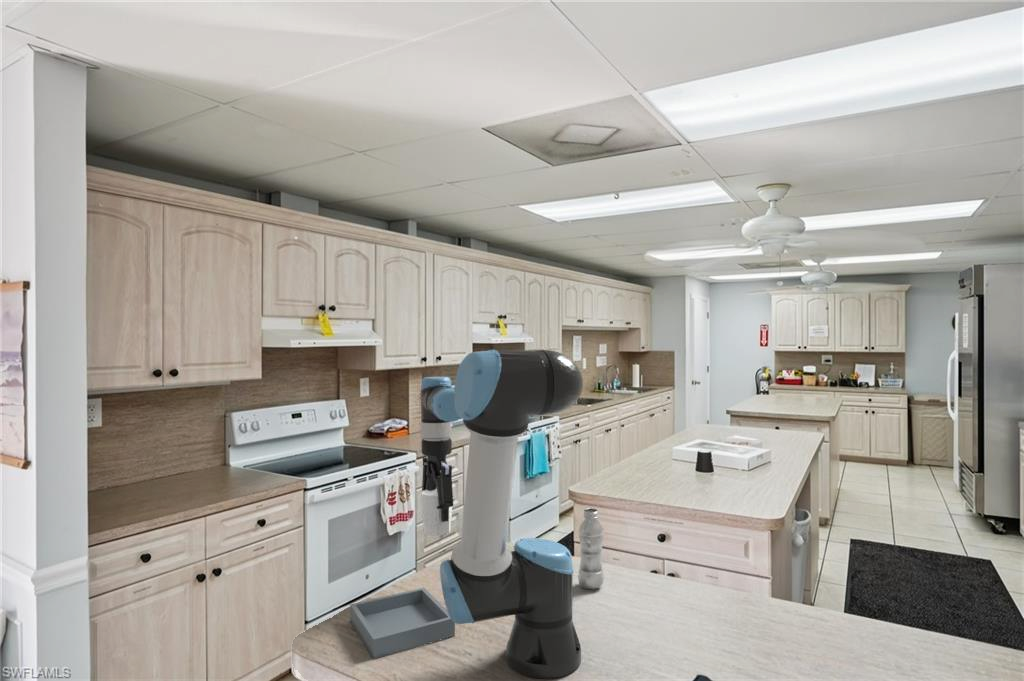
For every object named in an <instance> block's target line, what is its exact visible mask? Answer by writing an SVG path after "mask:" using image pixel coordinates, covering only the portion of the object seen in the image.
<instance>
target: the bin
mask: <svg viewBox="0 0 1024 681" xmlns="http://www.w3.org/2000/svg"><path fill="white" fill-rule="evenodd" d="M349 611H350V612H349V616H350V617H349V620H350V621H349V622H350V624H351V625H352V627H353V629H354V630H355V632H356V633H357V635H358V636H359V638H360V640H361V641H362V643H363V644H364V646H365V647H366V649H367V651H368V652H369V654H370V656H371V658H372V659H373V660H376V659H380V658H382V657H386V656H390V655H392V654H393V655H394V654H397V653H401V652H404V651H408V650H411V649H414V647H415V648H418V647H417V646H419V647H421V645H422V646H425V645H424V644H426V645H428V644H427V643H429V644H431V643H430V642H433V643H435V642H434V641H436V642H439V641H438V640H440V639H443V640H446V639H445V638H447V639H449V638H448V637H450V638H452V637H451V636H454V637H456V633H455V632H456V629H455V628H456V623H455V622H453V621H452V620H451V618H450V616H449V614H448V611H447V608H446V607H444V605H443V604H441V603H440V602H439V601H438V600H437V599H436V598H435V597H434V596H433V595H432V594H431V592H429V591H428V590H427V589H426V588H425V587H420V588H415V589H412V590H407V591H402V592H399V593H395V594H390V595H389V594H388V595H385V596H381V597H377V598H373V599H368V600H364V601H363V600H362V601H359V602H355V603H350V605H349ZM440 641H441V640H440ZM403 650H404V651H403ZM400 651H401V652H400Z"/></svg>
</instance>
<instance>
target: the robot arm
mask: <svg viewBox="0 0 1024 681" xmlns="http://www.w3.org/2000/svg"><path fill="white" fill-rule="evenodd" d="M583 386H584V379H583V374H582V372H581V370H580V368H579V366H578V365H577V364H576V362H575V361H574V360H572V358H570V357H569V356H567V355H566V354H563V353H561V352H559V351H555V350H552V349H551V350H549V349H538V350H535V349H534V350H533V349H530V350H529V349H525V350H524V349H523V350H521V349H517V350H514V349H513V350H505V349H504V350H500V349H499V350H495V349H488V350H480V351H472V352H469V353H468V354H467V355H465V357H464V358H463V359H462V361H461V362H460V364H459V366H458V369H457V372H456V376H455V381H454V386H452V379H450V377H448V376H426V377H423V378H422V379H421V386H420V387H421V388H420V393H421V394H420V395H421V397H420V398H421V401H420V402H421V405H420V406H421V422H420V426H421V427H420V428H421V429H420V434H421V435H420V436H421V438H422V440H421V454H422V455H423V456H426V457H422V480H421V492H422V491H424V490H429V491H433V490H435V489H436V488H437V494H438V501H439V506H438V507H437V509H438V535H439V536H440V535H441V536H443V535H442V534H445V535H447V534H450V532H449V507H452V508H453V507H454V494H453V493H454V492H453V481H452V480H453V479H452V478H453V477H452V473H453V466H452V465H448V462H447V456H448V455H451V454H452V452H453V451H452V450H453V446H452V443H453V441H452V438H451V437H452V428H453V426H454V425H453V424H452V422H457V421H459V420H462V422H463V423H462V424H463V426H464V428H465V429H466V430H468V432H469V433H470V434H469V444H468V445H469V446H468V457H467V458H468V459H467V468H466V481H465V492H464V493H465V494H464V502H463V503H464V504H463V512H462V513H463V514H462V526H461V534H460V535H461V537H460V540H459V541H458V542H457V543H456V544H455V545H454V546H453V548H452V551H451V557H450V558H451V559H445V560H444V561H441V564H440V567H439V573H440V574H439V575H440V576H439V577H440V585H441V589H442V591H441V592H442V595H443V599H444V604H445V609H446V610H447V611H448V614H449V616H450V618H451V620H452V621H453V622H455V625H456V624H458V625H463V624H475V623H477V622H478V623H479V622H483V621H489V620H494V619H498V618H505V617H508V616H514V621H513V625H512V628H511V630H510V634H509V638H508V641H507V644H506V661H507V662H506V663H507V664H508V665H509V666H510V667H511V668H512V669H513V670H514V671H515V672H517V673H518V674H521V675H523V676H526V677H530V678H533V679H545V680H546V679H555V678H561V677H564V676H568V675H570V674H571V673H573V672H574V671H576V670H577V669H578V668H579V667H580V665H581V662H582V648H581V647H582V646H581V643H580V640H579V636H578V633H577V630H576V628H575V624H574V621H573V574H574V569H573V568H574V567H573V559H572V558H573V556H572V553H571V552H570V549H568V548H567V546H565V545H563V544H561V543H560V542H557V541H554V540H549V539H545V538H537V537H527V538H525V537H524V538H520V539H519V540H517V541H515V543H514V546H513V549H514V550H513V551H512V550H511V549H510V547H508V546H507V537H508V531H509V530H508V529H509V519H510V513H511V502H512V493H513V486H514V475H515V468H516V467H515V466H516V460H517V459H516V458H517V451H518V449H517V448H518V443H519V442H518V441H519V437H521V436H522V435H524V434H525V433H526V432H527V431H528V429H529V420H530V417H531V416H532V417H534V416H544V415H545V416H546V415H554V414H557V413H562V412H564V411H566V410H568V409H570V408H571V407H572V406H573V405H575V403H577V401H578V400H579V399H580V396H581V395H582V393H583Z"/></svg>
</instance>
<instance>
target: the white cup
mask: <svg viewBox="0 0 1024 681" xmlns="http://www.w3.org/2000/svg"><path fill="white" fill-rule="evenodd" d="M420 494H421V495H420V498H421V499H420V500H421V516H422V517H421V518H422V525H423V527H422V528H423V533H424V534H425V535H427V536H431V537H432V536H433V537H434V536H436V537H437V536H439V537H440V536H444V535H446V534H442V535H438V509H437V507H438V506H439V501H438V494H437V487H436V489H435V490H433V491H429V490H424V491H422V490H421V492H420ZM452 515H453V506H452V507H449V533H451V524H452Z"/></svg>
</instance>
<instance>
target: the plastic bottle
mask: <svg viewBox="0 0 1024 681" xmlns="http://www.w3.org/2000/svg"><path fill="white" fill-rule="evenodd" d="M604 535H605V530H604V527H603V525H602V524H601V522H600V521H599V510H598V509H596V508H592V507H591V508H585V509H583V521H582V522H581V523H580V526H579V527H578V537H579V545H580V547H579V548H580V560H579V569H578V573H577V579H578V583H579V586H580V587H582V588H583V589H587V590H597V589H599V588H601V587H602V586H603V584H604V578H605V576H604V570H603V560H602V551H603V541H604V540H603V539H604Z"/></svg>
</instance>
